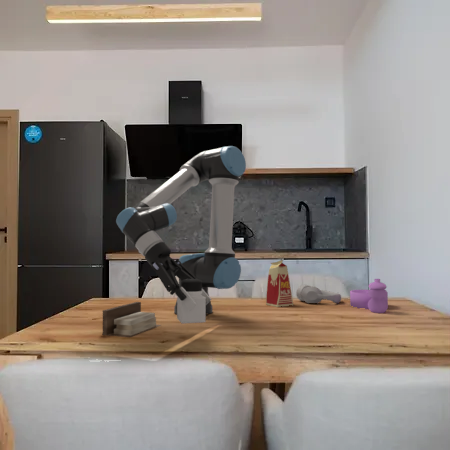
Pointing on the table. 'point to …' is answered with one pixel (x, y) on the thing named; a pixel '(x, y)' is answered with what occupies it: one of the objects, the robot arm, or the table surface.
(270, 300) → the milk carton
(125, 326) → the offcut stack
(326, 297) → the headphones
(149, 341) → the table surface
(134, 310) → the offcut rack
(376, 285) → the container set
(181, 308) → the medicine bottle
